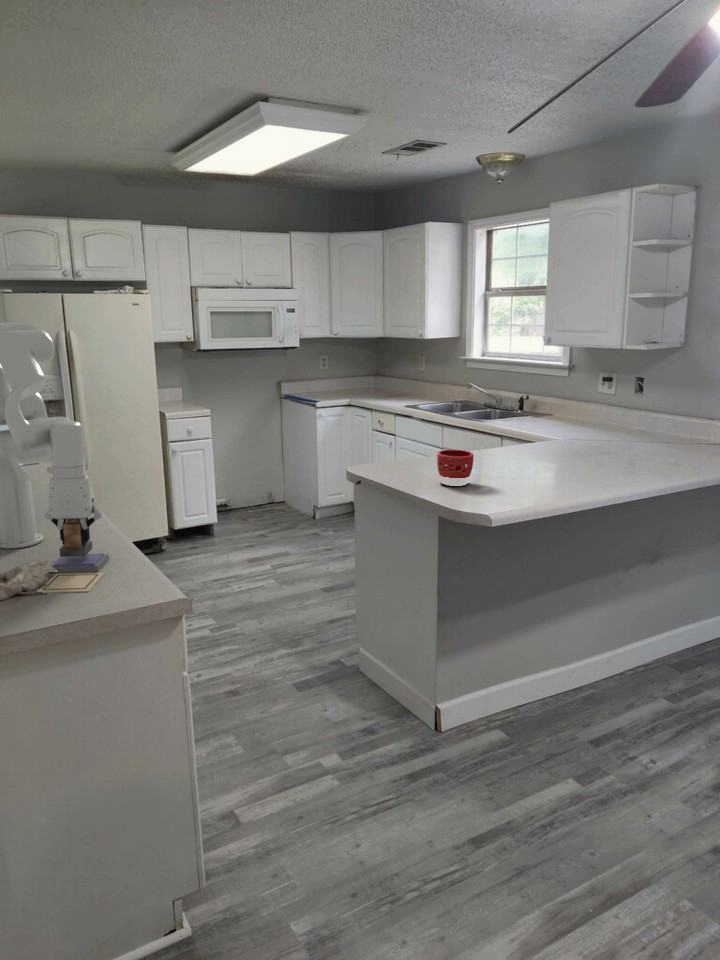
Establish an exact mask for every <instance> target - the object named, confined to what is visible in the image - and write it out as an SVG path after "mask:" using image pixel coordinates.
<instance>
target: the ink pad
mask: <svg viewBox="0 0 720 960" xmlns="http://www.w3.org/2000/svg"><path fill="white" fill-rule="evenodd" d="M109 555H110V554H109V553H103V552H102V553H100V552H99V553H97V552H96V553H88V554H87V555H86V556H85V557H60V556H59V557H58V558H57V559H55V560H54V561H53V562H52V563H51V564H50V565H49V566H50V567H53V568H55V569H56V570H57V571H58V573H57V574H69V573H100V571H101V569H103V567H104V566H105V565H106V564H107V563H108V562H109V560H110V556H109Z"/></svg>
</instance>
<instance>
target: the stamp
mask: <svg viewBox="0 0 720 960" xmlns="http://www.w3.org/2000/svg"><path fill="white" fill-rule="evenodd" d="M81 529H82V524H81V521H80V519H67V521H66V522H65V523H64V524H63V530H64V542H65V545H63V544H62V546H61V547H60V548H59V557H85V556H86V555H87V554H90V551H92V550H93V540H89V541H88V542H87V543H86V544H85V545H82V540H81Z"/></svg>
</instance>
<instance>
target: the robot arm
mask: <svg viewBox="0 0 720 960" xmlns="http://www.w3.org/2000/svg"><path fill="white" fill-rule="evenodd" d="M54 357H55V345H54V341H53V339H52V338H51V336H50V335H49V333H47V332H46V330H43V329H41V328H39V327H37V326H33V325H32V324H28V323H24V322H0V426H1V427H2V426H7V427H8V429H4V430H0V549H7V550H9V549H19V548H26V547H30V546H34V545H37V544H39V543H41V542H42V541H43V540H44V535H43V533H40V532H37V524H36V514H35V506H34V498H33V497H34V496H33V489H32V480H31V478H30V475H29V474H28V473H27V471H25V470H24V469H23V468H22V467H21V466H20V465H21V464H22V465H23V464H25V463H26V464H27V463H31V462H38V461H43V460H48V459H49V458H50V457H51V463H52V465H51V466H47V468H46V472H47V473H50V474H51V475H52V477H50V479H49V483H48V509H47V510H46V512H45V513H44V515H43V517H44V519H46V520H48V521H50V522H52V524H53V525H55V526H56V527H57V529H58V530H59V534H60V535H59V536H60V541H62V546H63V545H65V542H64V530H63V524H64V523H65V522H66V521H67V519H80V521H81V524H82V529H81V540H82V545H85V544H86V543H87V542H88V541H90V539H91V534H90V526H92V525H93V523H95V522H96V521H98V520H99V519H100V518H102V517H103V513H102V512H101V510H100V509H99V508H98V506H97V505H96V502H95V500H96V499H95V494H94V490H93V486H92V481H91V478H90V475H87V469H86V468H87V467H86V454H85V453H86V452H85V441H84V429H83V425H82V423H80V422H78V421H75V420H71V419H69V417H65V416H52V417H51V416H50V417H48V412H47V408H46V405H45V401H44V398H42V395H41V394H40V393H39V392H41V391H42V390H43V389H44V388H45V386H46V384H47V378H46V376H45V373H44V371H43V370H42V368H41V366H40V363H47V362H49V361H52V359H54ZM92 514H93V516H92Z"/></svg>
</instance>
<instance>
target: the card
mask: <svg viewBox="0 0 720 960" xmlns="http://www.w3.org/2000/svg"><path fill="white" fill-rule="evenodd" d="M55 574H56V575H55V576H54V577H53V578H51V577H50V578H51V579H50V578H49V579H50V581H49V583H48V584H47V585H46V586H45V587H44V588H43V589H42V591H39V592H42V593H41V594H49V593H50V594H56V593H60V594H61V593H90V591H91V590H92V589H93V588H94V587H95V586H96V584H97V583H98V582H99V581H100V580H101V579H102V577H103V576H104V575H105V572H74V573H55Z"/></svg>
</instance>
